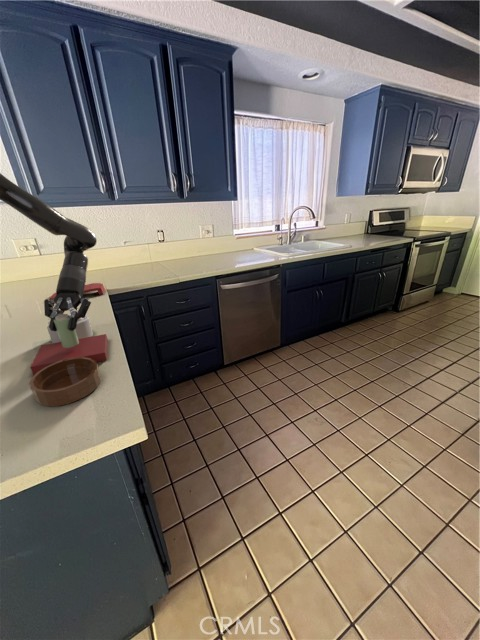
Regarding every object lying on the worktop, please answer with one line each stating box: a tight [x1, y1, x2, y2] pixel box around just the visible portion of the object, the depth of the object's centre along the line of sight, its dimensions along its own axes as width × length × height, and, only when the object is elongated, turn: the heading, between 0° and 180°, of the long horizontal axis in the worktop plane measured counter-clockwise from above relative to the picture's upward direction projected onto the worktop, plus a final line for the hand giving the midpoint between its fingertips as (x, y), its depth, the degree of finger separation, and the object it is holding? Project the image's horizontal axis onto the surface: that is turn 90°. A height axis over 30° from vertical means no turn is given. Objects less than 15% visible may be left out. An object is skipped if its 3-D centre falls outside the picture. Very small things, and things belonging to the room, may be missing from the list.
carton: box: [49, 282, 106, 300], centre depth 145 cm, size 12×5×25 cm
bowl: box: [29, 357, 102, 407], centre depth 72 cm, size 16×16×5 cm
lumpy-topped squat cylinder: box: [46, 313, 94, 344], centre depth 98 cm, size 10×13×9 cm
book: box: [29, 333, 109, 376], centre depth 88 cm, size 20×14×3 cm
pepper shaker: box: [54, 313, 79, 348], centre depth 84 cm, size 5×5×10 cm
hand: (62, 330), depth 82 cm, fingers closed on pepper shaker, 4 cm apart
